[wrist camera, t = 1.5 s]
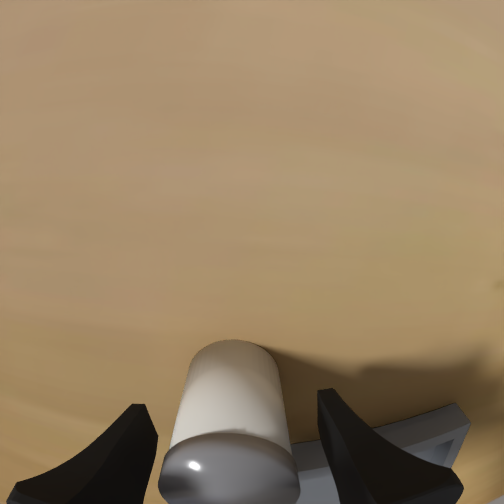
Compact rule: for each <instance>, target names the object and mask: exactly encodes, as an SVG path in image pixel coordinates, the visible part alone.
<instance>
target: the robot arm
mask: <svg viewBox="0 0 504 504" xmlns="http://www.w3.org/2000/svg"><path fill="white" fill-rule="evenodd" d="M317 398H318V429H319V434H320V438H321V443H322V447H323V450H324V453H325V456H326V458H327V461H328V464H329V467H330V470H331V473H332V476H333V479H334V482H335V485H336V488H337V492H338V496H339V501H340V504H456V502H457V501H458V499H459V498H460V496H461V494H462V492H463V490H464V487H463V485H462V483H461V481H460V479H459V478H458V477H457V475H456V474H455V473H454V472H453V470H452V469H451V468H448V467H444V466H441V465H437V464H434V463H431V462H428V461H426V460H423V459H421V458H418V457H416V456H414V455H412V454H410V453H408V452H406V451H404V450H402V449H400V448H399V447H397V446H395V445H394V444H392V443H391V442H389V441H388V440H386V439H385V438H383V437H382V436H381V435H379V434H378V433H377V432H375V431H374V430H373V429H372V428H371V427H369V426H368V425H367V424H366V423H365V422H364V421H363V420H362V419H361V418H359V417H358V416H357V415H356V414H355V413H354V412H353V411H352V410H351V408H350V407H349V406H348V405H347V404H346V403H345V402H344V401H343V400H342V398H341V397H340V396H339V395H338V393H337V392H336V391H335V390H334V389H333V388H329V389H324V390H318V391H317ZM157 442H158V434H157V432H156V430H155V427H154V425H153V423H152V420H151V418H150V415H149V413H148V411H147V408H146V406H145V404H131V405H130V406H129V407H128V408H127V409H126V410H125V411H124V412H123V413H122V414H121V416H120V417H119V418H118V419H117V420H116V421H115V422H114V423H113V424H112V425H111V426H110V427H109V428H108V429H107V430H106V431H105V432H104V433H103V434H101V435H100V436H99V437H98V438H97V439H96V440H95V441H94V442H92V443H91V444H90V445H89V446H88V447H87V448H85V449H84V450H83V451H81V452H80V453H79V454H77V455H76V456H74V457H73V458H71V459H70V460H68V461H66V462H65V463H63V464H61V465H59V466H58V467H56V468H54V469H52V470H50V471H48V472H45V473H43V474H41V475H38V476H36V477H33V478H30V479H26V480H23V481H20V482H17V483H16V484H15V486H14V488H13V490H12V492H11V493H10V495H9V497H8V499H7V501H6V502H7V504H143V501H144V496H145V492H146V488H147V485H148V481H149V478H150V474H151V471H152V467H153V464H154V460H155V456H156V450H157Z"/></svg>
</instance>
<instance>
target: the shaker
mask: <svg viewBox="0 0 504 504" xmlns="http://www.w3.org/2000/svg"><path fill="white" fill-rule="evenodd" d="M158 488H159V492H160V494H161V495H162V497H163V498H164V499H165V500H166V501H167V502H168V503H169V504H295V503H296V502H297V500H298V499H299V497H300V493H301V488H300V482H299V476H298V470H297V465H296V462H295V459H294V458H293V456H292V451H291V445H290V439H289V432H288V426H287V420H286V414H285V407H284V401H283V395H282V389H281V383H280V376H279V371H278V367H277V364H276V362H275V360H274V359H273V358H272V356H271V355H270V354H269V353H268V352H267V351H265V350H264V349H263V348H261V347H259V346H258V345H255V344H253V343H250V342H247V341H242V340H223V341H218V342H214V343H212V344H210V345H208V346H206V347H204V348H203V349H201V350H200V351H199V352H198V353H197V354H196V355H195V356H194V358H193V359H192V361H191V363H190V366H189V370H188V374H187V378H186V382H185V386H184V390H183V394H182V398H181V402H180V406H179V410H178V414H177V418H176V422H175V426H174V431H173V435H172V439H171V443H170V447H169V451H168V452H167V453H166V455H165V457H164V460H163V464H162V468H161V473H160V477H159V481H158Z"/></svg>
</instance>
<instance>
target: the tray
mask: <svg viewBox="0 0 504 504" xmlns="http://www.w3.org/2000/svg"><path fill="white" fill-rule="evenodd" d="M470 424H471V422H470V421H469V419H468V418H467V417H466V415H465V414H464V413H463V412H462V410H461V409H460V408H459V406H458V405H457V404H456V403H453V404H451V405H448V406H445V407H442V408H440V409H437V410H434V411H431V412H428V413H425V414H422V415H419V416H416V417H413V418H409V419H406V420H403V421H399V422H396V423H392V424H389V425H385V426H381V427H377V428H373V430H374V431H375V432H377V433H378V434H379V435H381V436H382V437H383V438H385V439H386V440H388V441H389V442H391V443H392V444H394V445H395V446H397V447H399V448H400V449H402V450H404V451H406V452H408V453H410V454H412V455H414V456H416V457H418V458H421V459H423V460H426V461H428V462H431V463H434V464H437V465H441V466H444V467H448V468H451V467H452V465H453V463H454V461H455V459H456V457H457V454H458V452H459V450H460V448H461V445H462V443H463V441H464V439H465V436H466V434H467V431H468V429H469V426H470ZM290 445H291V451H292V456H293V458H294V459H295V462H296V465H297V470H298V476H299V482H300V488H301V493H300V497H299V499H298V500H297V502H296V503H295V504H340V501H339V496H338V492H337V488H336V485H335V482H334V479H333V476H332V473H331V470H330V467H329V464H328V461H327V458H326V456H325V453H324V450H323V447H322V443H321V440H316V441H310V442H304V443H297V444H290Z"/></svg>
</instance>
